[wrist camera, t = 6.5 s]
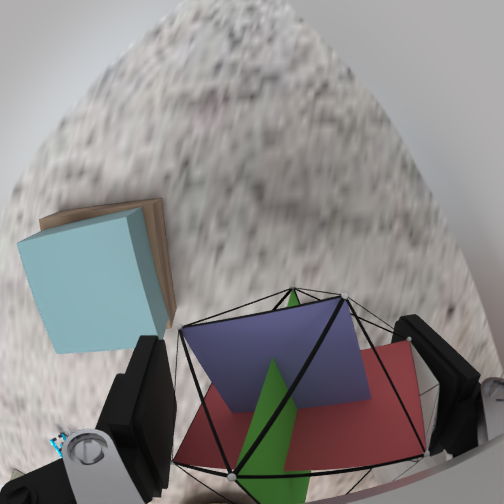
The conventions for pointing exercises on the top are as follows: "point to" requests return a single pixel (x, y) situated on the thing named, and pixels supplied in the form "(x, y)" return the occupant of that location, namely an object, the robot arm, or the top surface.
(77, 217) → the base block
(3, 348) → the top surface
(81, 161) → the top surface
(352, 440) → the geometric puzzle
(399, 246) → the top surface
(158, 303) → the top block
